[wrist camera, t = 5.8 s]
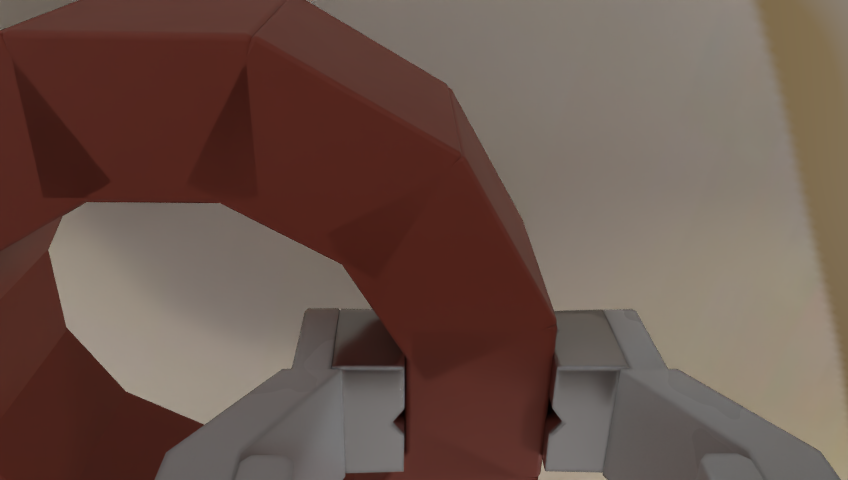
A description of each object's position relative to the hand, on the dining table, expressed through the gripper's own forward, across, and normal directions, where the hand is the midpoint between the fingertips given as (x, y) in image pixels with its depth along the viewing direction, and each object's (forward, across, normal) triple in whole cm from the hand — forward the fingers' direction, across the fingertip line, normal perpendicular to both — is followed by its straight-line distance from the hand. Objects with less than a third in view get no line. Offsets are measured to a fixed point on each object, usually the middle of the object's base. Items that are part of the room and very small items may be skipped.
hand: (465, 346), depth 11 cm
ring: (+2, +4, 0) cm, 4 cm away
